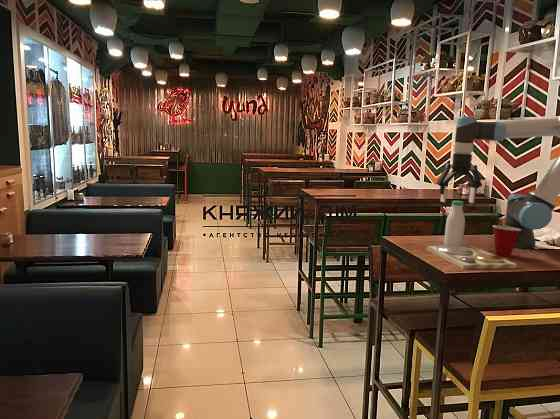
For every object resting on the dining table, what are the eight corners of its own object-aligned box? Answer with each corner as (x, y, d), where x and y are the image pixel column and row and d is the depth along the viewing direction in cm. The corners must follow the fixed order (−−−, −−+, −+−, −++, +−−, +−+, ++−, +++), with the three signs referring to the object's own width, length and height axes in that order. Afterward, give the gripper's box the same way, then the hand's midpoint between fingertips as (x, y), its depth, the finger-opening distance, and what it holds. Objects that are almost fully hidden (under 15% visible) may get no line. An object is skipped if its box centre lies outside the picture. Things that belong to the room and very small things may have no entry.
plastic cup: (522, 255, 196) (526, 227, 194) (510, 259, 190) (513, 230, 188) (496, 250, 205) (500, 222, 203) (484, 253, 198) (487, 225, 196)
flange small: (470, 259, 182) (470, 257, 181) (478, 262, 177) (478, 260, 177) (458, 259, 181) (458, 257, 180) (465, 262, 176) (466, 260, 176)
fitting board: (473, 249, 204) (473, 245, 204) (516, 268, 177) (517, 264, 177) (426, 249, 200) (426, 246, 200) (463, 268, 173) (463, 264, 173)
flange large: (460, 246, 202) (460, 244, 202) (479, 255, 188) (479, 253, 188) (429, 246, 199) (430, 244, 199) (447, 255, 186) (447, 253, 186)
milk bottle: (463, 248, 204) (468, 203, 201) (444, 246, 206) (449, 201, 203) (461, 245, 212) (466, 200, 208) (443, 243, 214) (447, 199, 210)
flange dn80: (492, 255, 188) (492, 253, 188) (508, 262, 179) (509, 260, 178) (469, 255, 186) (469, 254, 186) (484, 263, 177) (485, 261, 177)
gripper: (483, 153, 208) (477, 201, 212) (431, 151, 204) (426, 200, 207) (494, 154, 201) (488, 204, 205) (440, 152, 196) (434, 202, 200)
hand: (457, 202), depth 206 cm, fingers open, 13 cm apart
